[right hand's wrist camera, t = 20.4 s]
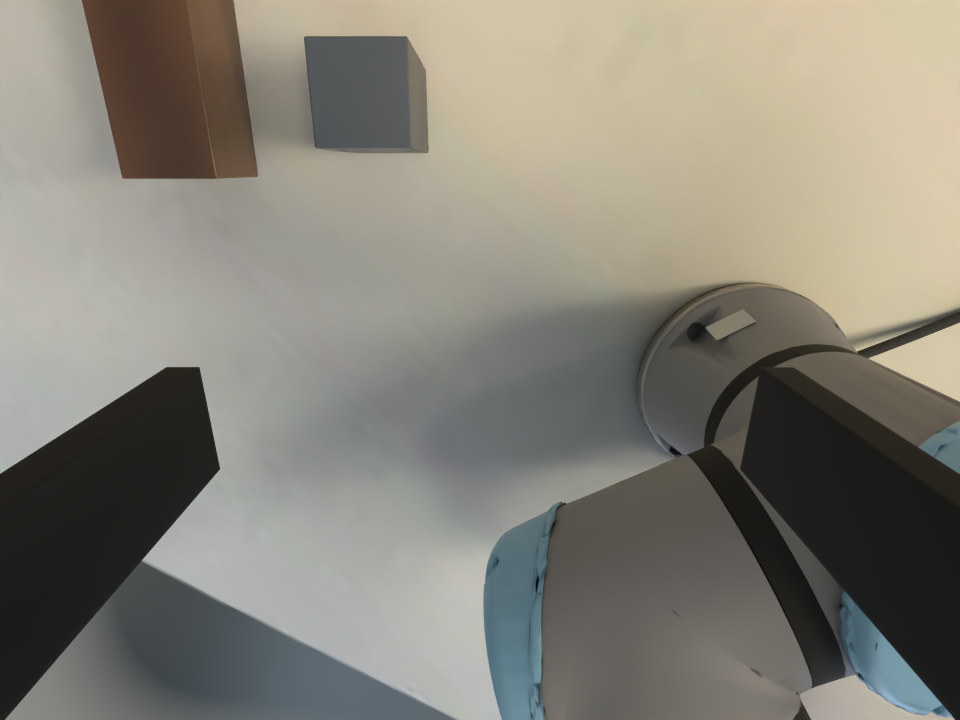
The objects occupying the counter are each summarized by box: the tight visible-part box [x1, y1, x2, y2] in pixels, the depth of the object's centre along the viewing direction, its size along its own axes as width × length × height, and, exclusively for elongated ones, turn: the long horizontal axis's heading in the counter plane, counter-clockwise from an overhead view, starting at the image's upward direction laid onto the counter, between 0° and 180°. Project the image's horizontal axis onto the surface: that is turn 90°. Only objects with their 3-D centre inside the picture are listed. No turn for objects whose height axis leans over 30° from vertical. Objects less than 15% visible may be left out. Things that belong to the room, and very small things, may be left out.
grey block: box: [304, 36, 428, 153], centre depth 30 cm, size 5×5×9 cm
